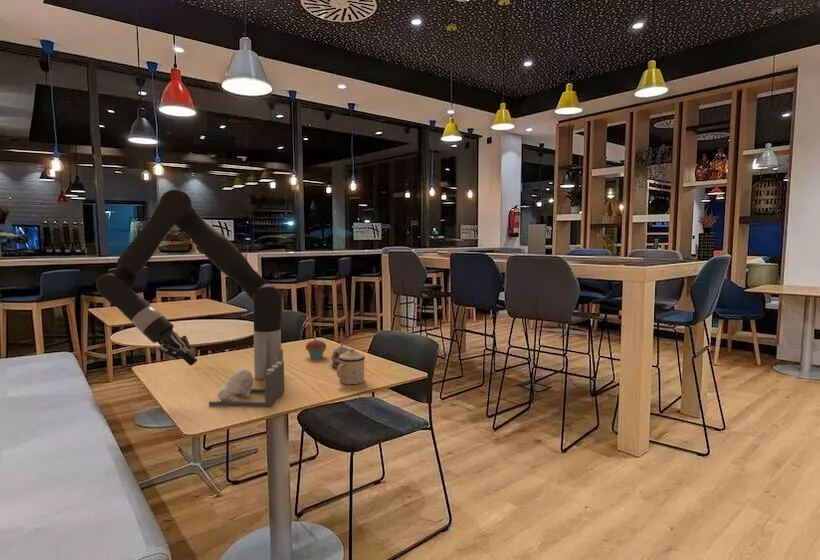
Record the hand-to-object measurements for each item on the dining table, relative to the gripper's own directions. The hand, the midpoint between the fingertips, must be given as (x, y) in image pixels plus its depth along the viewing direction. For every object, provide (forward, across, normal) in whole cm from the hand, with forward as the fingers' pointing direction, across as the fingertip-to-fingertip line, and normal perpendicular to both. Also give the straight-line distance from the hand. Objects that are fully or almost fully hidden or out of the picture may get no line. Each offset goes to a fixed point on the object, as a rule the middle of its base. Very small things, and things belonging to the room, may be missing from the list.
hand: (194, 363), depth 143 cm
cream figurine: (+17, 0, 0) cm, 17 cm away
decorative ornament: (+36, +38, -19) cm, 56 cm away
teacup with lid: (+40, +18, -23) cm, 50 cm away
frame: (+20, 0, -4) cm, 20 cm away
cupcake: (+27, +51, -10) cm, 58 cm away
